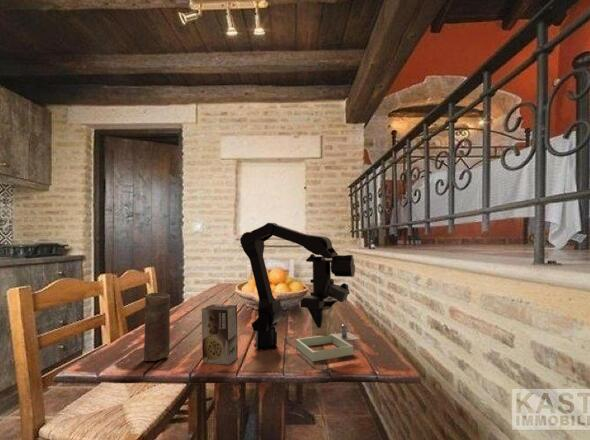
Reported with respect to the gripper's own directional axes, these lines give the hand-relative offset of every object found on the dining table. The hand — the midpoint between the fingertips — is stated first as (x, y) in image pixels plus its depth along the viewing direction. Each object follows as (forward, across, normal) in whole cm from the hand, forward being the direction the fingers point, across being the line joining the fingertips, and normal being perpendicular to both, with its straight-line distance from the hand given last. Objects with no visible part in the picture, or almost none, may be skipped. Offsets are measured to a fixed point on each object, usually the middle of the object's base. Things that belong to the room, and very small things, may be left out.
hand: (322, 325), depth 106 cm
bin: (+9, 0, 0) cm, 9 cm away
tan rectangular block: (+2, 0, 0) cm, 2 cm away
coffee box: (+9, -19, +26) cm, 33 cm away
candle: (+9, -27, +44) cm, 53 cm away
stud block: (+9, +16, -1) cm, 19 cm away
